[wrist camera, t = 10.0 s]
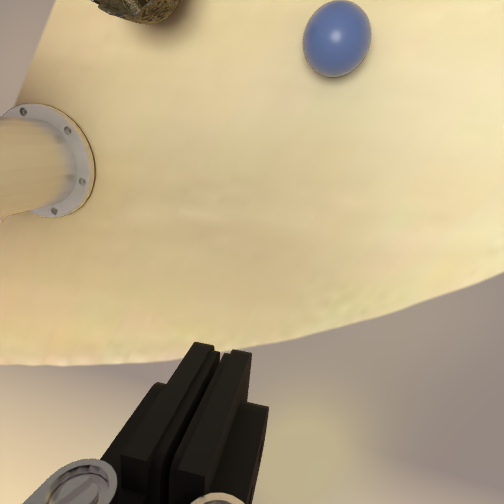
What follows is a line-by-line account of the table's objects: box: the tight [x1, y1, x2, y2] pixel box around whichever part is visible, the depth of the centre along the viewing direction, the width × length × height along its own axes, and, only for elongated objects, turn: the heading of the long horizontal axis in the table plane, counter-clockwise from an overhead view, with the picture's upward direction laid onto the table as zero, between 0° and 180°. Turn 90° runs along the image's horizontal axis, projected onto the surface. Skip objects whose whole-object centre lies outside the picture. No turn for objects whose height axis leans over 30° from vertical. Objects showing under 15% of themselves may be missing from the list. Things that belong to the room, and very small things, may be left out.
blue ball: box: [303, 0, 371, 77], centre depth 30 cm, size 6×6×6 cm
